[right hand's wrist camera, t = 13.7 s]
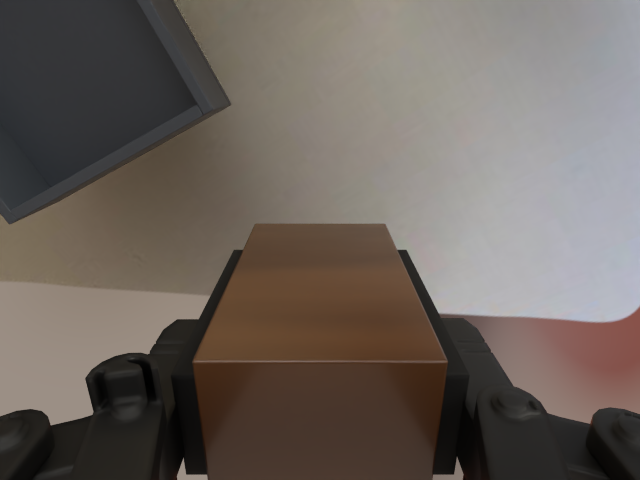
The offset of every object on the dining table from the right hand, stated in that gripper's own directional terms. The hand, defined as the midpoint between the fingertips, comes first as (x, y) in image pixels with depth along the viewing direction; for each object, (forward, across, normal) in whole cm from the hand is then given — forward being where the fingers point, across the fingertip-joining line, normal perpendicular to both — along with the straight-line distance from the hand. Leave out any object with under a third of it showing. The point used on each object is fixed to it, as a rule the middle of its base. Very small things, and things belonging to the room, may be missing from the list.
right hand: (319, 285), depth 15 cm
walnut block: (0, 0, 0) cm, 0 cm away
